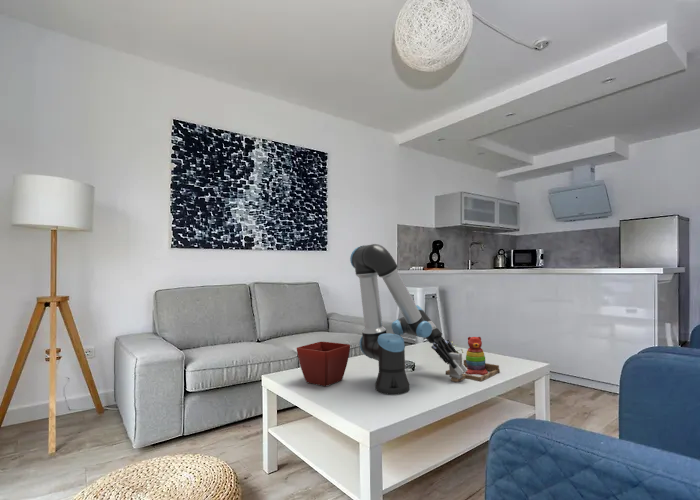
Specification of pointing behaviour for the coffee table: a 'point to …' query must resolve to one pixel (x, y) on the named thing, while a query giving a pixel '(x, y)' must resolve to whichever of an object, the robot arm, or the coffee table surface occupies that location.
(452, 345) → the passion flower
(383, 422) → the coffee table surface
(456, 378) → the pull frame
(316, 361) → the plant pot
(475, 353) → the stacking bear
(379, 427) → the coffee table surface
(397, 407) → the coffee table surface
